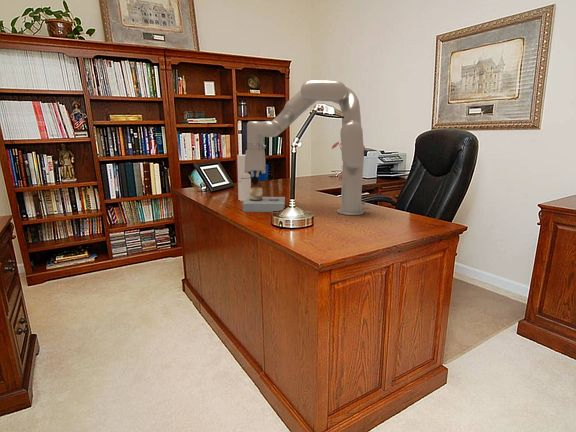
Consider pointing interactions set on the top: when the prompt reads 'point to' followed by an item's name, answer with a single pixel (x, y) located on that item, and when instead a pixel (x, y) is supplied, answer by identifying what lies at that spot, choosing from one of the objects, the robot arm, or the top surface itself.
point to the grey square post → (243, 179)
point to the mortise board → (264, 204)
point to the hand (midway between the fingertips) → (255, 184)
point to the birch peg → (256, 194)
